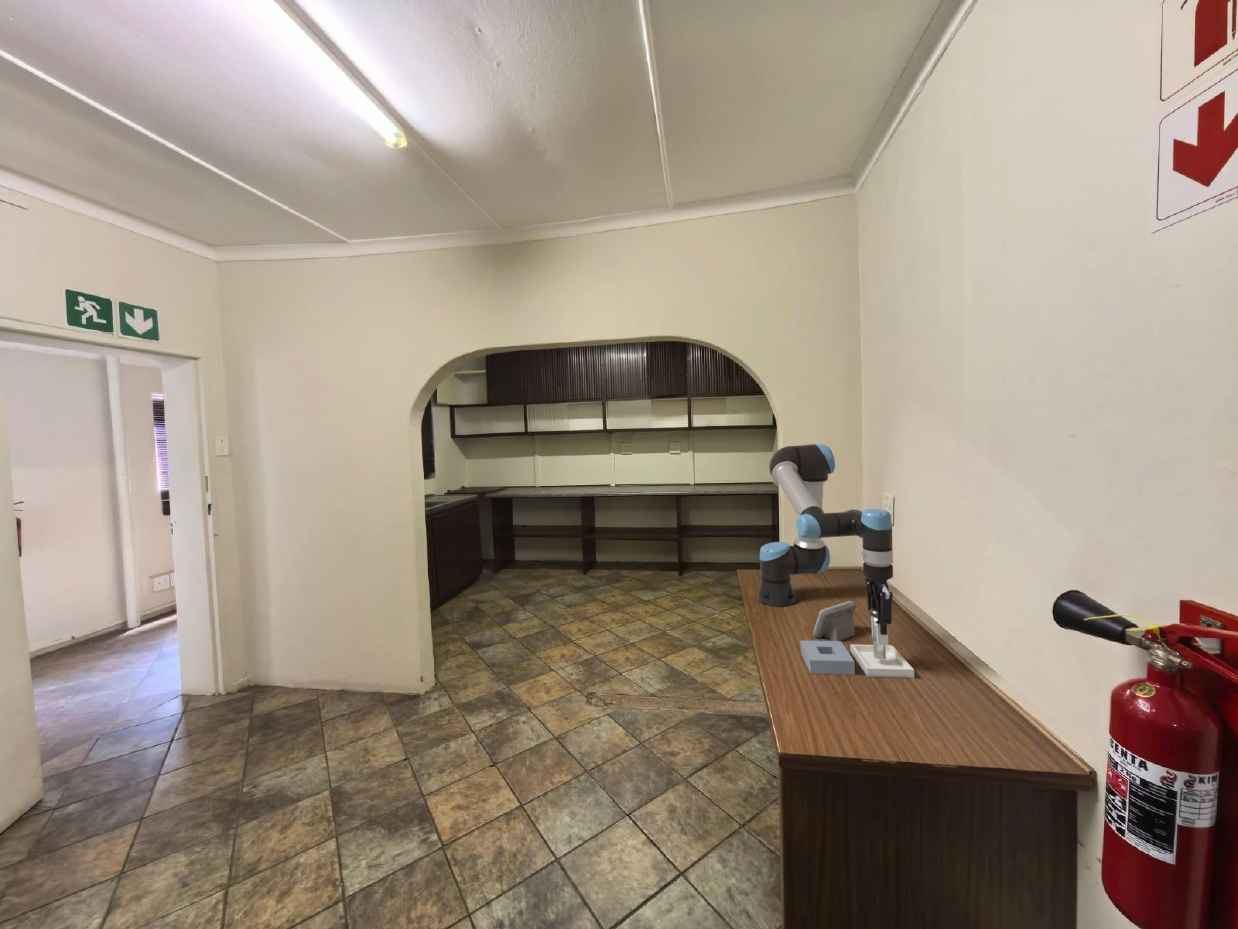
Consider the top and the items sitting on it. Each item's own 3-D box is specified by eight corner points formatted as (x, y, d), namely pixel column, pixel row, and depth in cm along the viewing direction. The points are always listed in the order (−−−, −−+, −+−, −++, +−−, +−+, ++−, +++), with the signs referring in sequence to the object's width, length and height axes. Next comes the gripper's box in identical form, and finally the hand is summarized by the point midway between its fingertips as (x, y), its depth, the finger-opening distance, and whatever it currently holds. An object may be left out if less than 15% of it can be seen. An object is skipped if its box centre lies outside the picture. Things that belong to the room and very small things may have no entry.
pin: (881, 652, 132) (880, 606, 131) (891, 660, 128) (890, 612, 127) (867, 653, 132) (866, 608, 131) (877, 661, 127) (875, 614, 126)
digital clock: (846, 625, 156) (845, 596, 155) (866, 636, 147) (865, 605, 146) (806, 633, 152) (805, 603, 152) (824, 645, 144) (823, 613, 143)
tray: (850, 652, 138) (850, 644, 138) (892, 653, 136) (892, 645, 135) (867, 677, 124) (867, 668, 124) (914, 678, 122) (914, 669, 122)
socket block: (800, 652, 140) (800, 640, 139) (841, 653, 137) (840, 641, 137) (810, 673, 128) (809, 660, 127) (854, 674, 126) (854, 661, 125)
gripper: (854, 555, 136) (856, 628, 138) (874, 572, 120) (877, 654, 122) (880, 555, 135) (882, 628, 137) (904, 571, 119) (906, 655, 121)
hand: (879, 640), depth 129 cm, fingers closed on pin, 3 cm apart
